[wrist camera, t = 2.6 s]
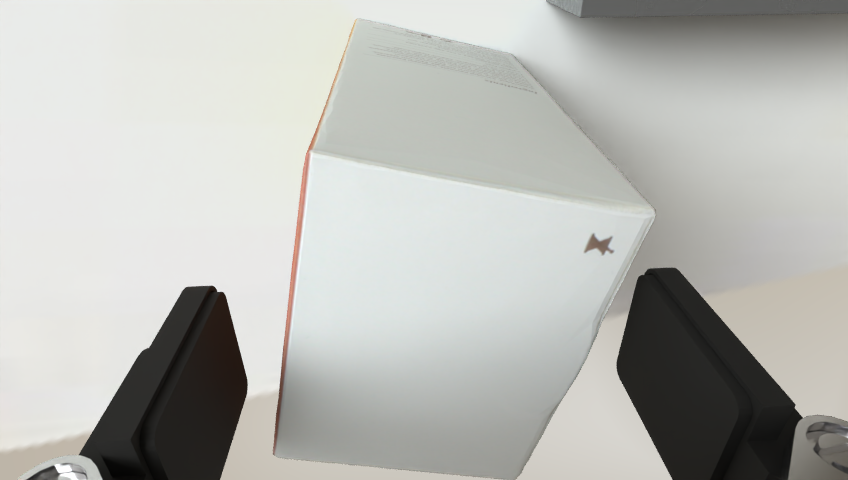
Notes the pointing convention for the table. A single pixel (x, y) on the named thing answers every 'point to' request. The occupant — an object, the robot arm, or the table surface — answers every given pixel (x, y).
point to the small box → (445, 261)
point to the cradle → (697, 7)
